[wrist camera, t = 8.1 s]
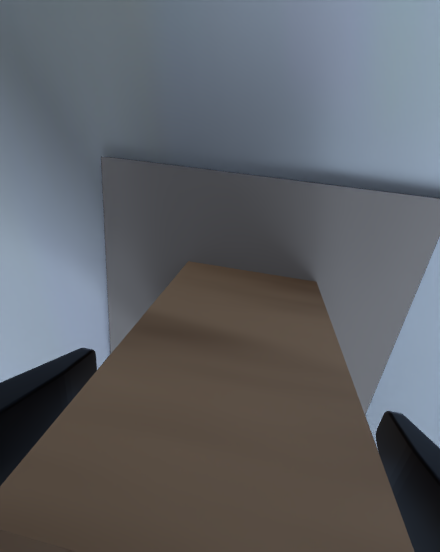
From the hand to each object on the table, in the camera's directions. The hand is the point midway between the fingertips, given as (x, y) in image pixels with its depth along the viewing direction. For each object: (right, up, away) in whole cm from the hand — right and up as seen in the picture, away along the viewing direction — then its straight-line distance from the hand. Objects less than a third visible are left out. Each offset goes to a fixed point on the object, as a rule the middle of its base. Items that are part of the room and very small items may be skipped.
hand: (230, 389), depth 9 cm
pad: (+1, +1, +4) cm, 4 cm away
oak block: (+1, +1, +3) cm, 4 cm away
